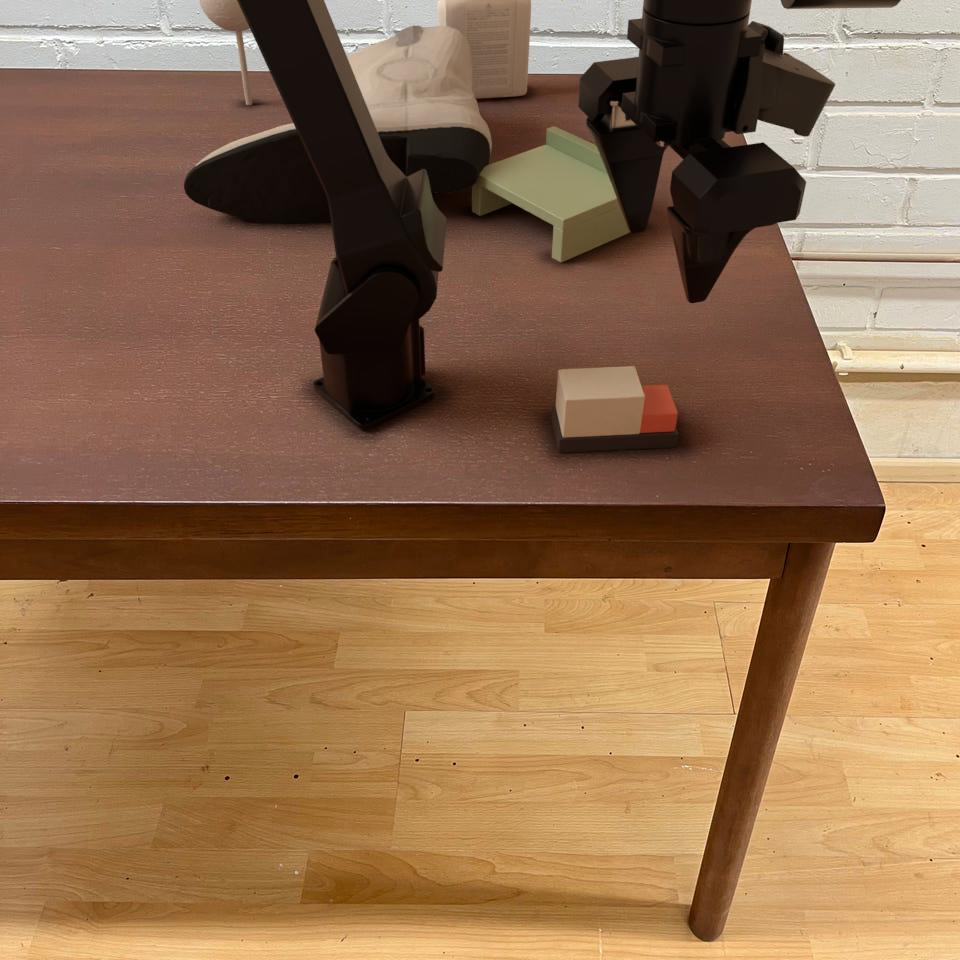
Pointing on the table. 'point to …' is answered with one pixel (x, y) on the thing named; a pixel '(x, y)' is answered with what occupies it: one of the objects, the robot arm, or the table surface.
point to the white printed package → (493, 42)
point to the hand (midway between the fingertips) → (665, 264)
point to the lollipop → (229, 16)
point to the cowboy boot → (398, 120)
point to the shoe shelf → (556, 192)
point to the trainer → (611, 411)
